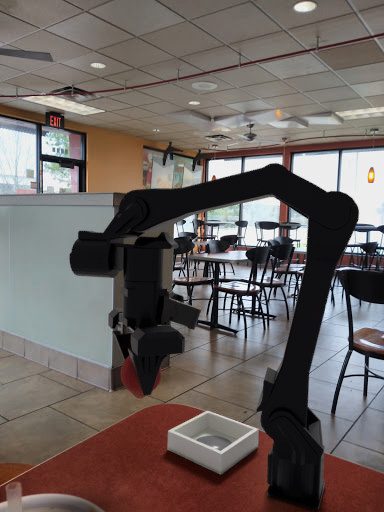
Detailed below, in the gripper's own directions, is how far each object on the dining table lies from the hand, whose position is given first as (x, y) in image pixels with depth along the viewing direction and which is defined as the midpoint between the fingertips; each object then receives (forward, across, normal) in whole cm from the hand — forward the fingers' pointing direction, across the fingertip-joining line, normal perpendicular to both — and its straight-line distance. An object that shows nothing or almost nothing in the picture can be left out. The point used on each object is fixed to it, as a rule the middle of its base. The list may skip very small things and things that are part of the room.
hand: (140, 387), depth 61 cm
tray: (+11, 0, -12) cm, 16 cm away
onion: (+2, 0, 0) cm, 2 cm away
